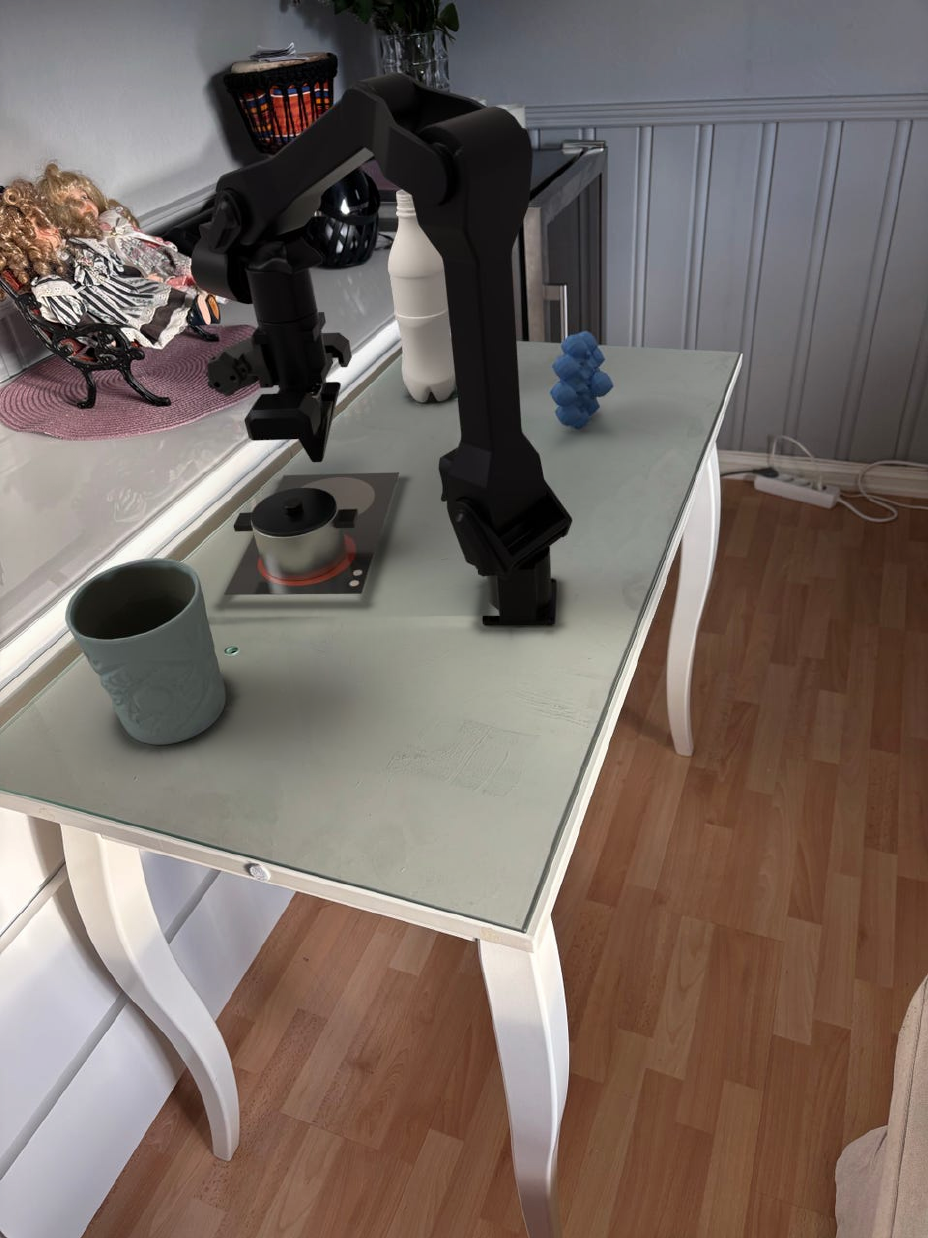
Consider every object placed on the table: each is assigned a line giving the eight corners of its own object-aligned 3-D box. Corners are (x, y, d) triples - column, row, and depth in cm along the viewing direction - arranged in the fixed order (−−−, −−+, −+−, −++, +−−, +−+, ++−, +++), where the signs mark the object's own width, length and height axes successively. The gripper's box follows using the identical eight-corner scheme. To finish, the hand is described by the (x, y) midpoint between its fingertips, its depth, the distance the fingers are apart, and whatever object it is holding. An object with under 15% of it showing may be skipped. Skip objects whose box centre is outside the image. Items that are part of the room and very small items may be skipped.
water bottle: (399, 389, 122) (371, 189, 106) (450, 378, 123) (430, 179, 108) (413, 411, 116) (385, 203, 101) (466, 399, 118) (447, 192, 102)
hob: (365, 605, 85) (363, 595, 84) (222, 606, 87) (219, 596, 86) (403, 480, 103) (402, 470, 102) (284, 482, 105) (281, 473, 104)
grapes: (594, 456, 103) (594, 355, 96) (539, 446, 106) (536, 347, 99) (630, 412, 111) (633, 315, 104) (578, 404, 114) (577, 309, 106)
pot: (355, 579, 86) (344, 524, 83) (235, 582, 88) (219, 528, 84) (369, 530, 93) (360, 477, 89) (257, 534, 94) (243, 481, 90)
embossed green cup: (181, 655, 82) (140, 544, 74) (262, 692, 77) (227, 578, 69) (90, 726, 75) (35, 613, 68) (173, 772, 71) (123, 655, 63)
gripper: (233, 281, 93) (267, 421, 103) (169, 356, 79) (215, 510, 88) (339, 276, 91) (363, 418, 101) (294, 351, 77) (327, 508, 87)
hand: (317, 460), depth 94 cm, fingers closed
